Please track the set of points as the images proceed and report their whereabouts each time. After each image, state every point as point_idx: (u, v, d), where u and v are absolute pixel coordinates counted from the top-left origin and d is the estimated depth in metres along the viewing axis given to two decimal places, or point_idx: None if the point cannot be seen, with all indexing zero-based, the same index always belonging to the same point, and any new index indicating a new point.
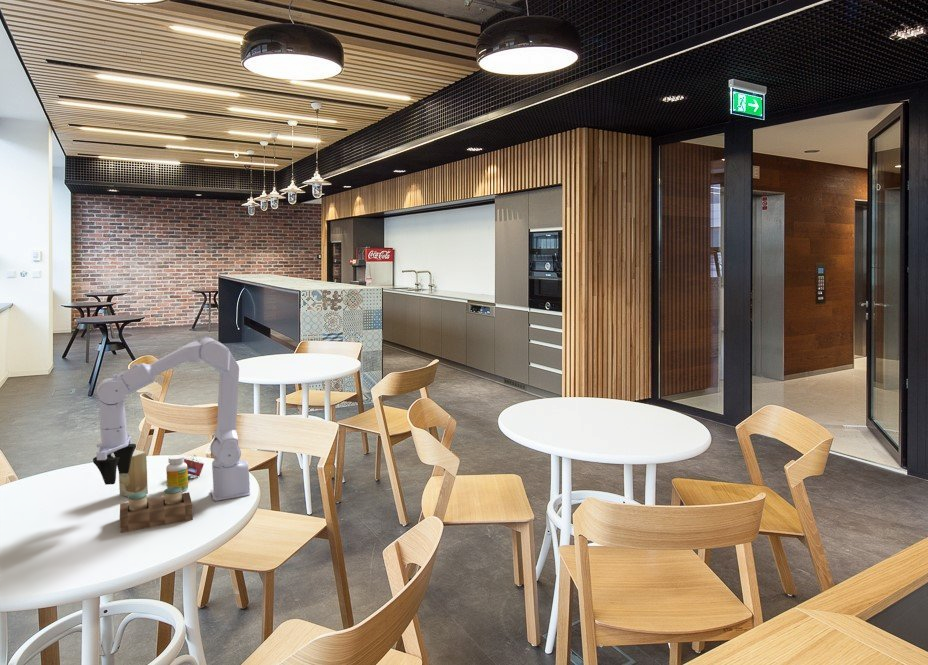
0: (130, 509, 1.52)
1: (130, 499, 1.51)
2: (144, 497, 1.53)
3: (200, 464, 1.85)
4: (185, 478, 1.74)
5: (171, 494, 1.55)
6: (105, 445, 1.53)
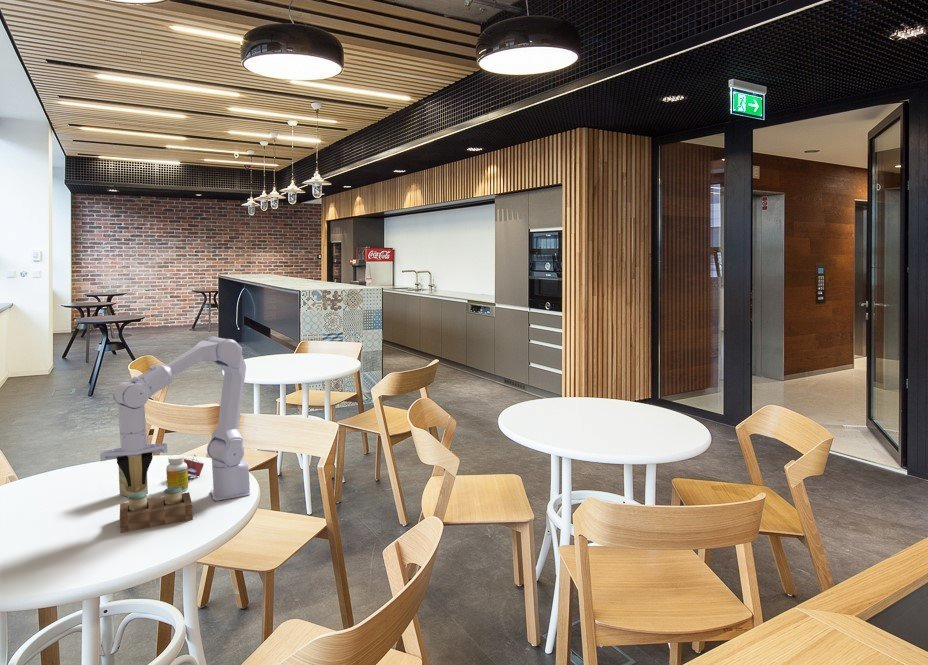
0: (130, 509, 1.52)
1: (130, 499, 1.51)
2: (144, 497, 1.53)
3: (200, 464, 1.85)
4: (185, 478, 1.74)
5: (171, 494, 1.55)
6: None
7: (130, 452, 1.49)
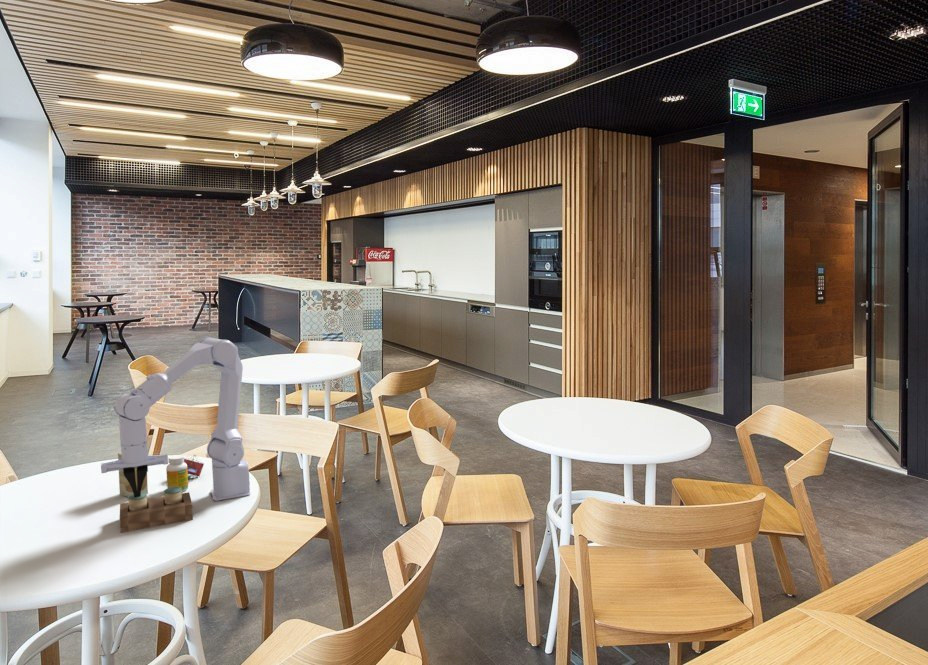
0: (130, 509, 1.52)
1: (130, 499, 1.51)
2: (144, 497, 1.53)
3: (200, 464, 1.85)
4: (185, 478, 1.74)
5: (171, 494, 1.55)
6: None
7: (131, 464, 1.49)
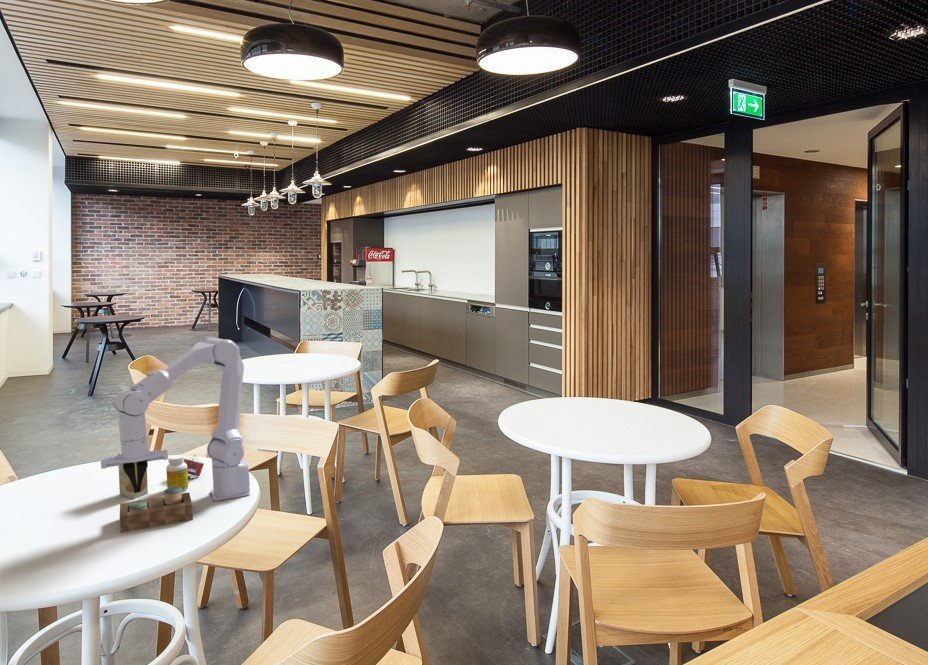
0: None
1: (131, 509, 1.52)
2: (145, 507, 1.53)
3: (200, 464, 1.85)
4: (185, 478, 1.74)
5: (171, 494, 1.55)
6: None
7: (131, 459, 1.49)
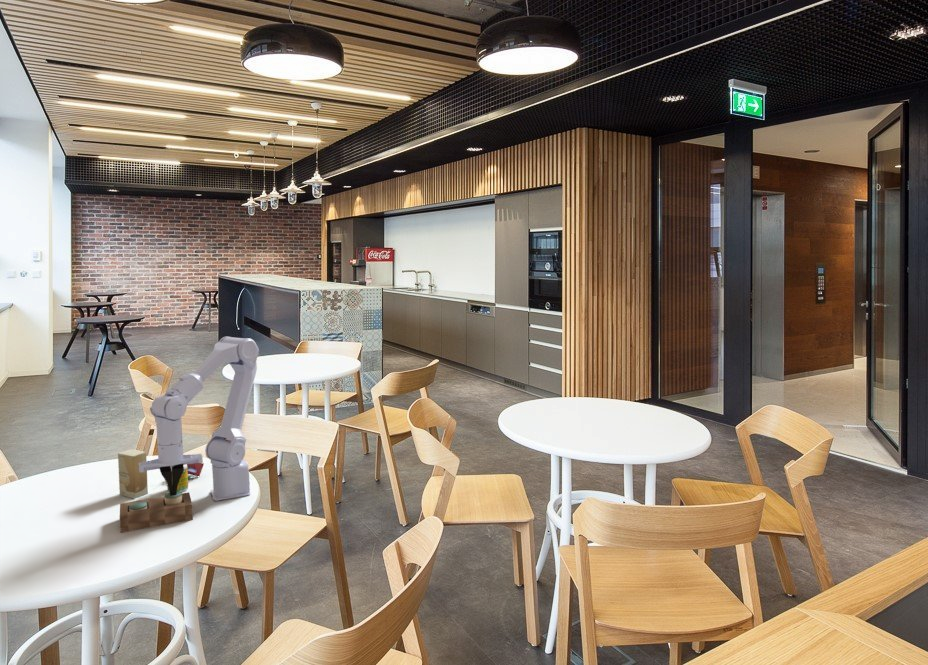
0: None
1: (131, 509, 1.52)
2: (145, 507, 1.53)
3: (200, 464, 1.85)
4: (185, 478, 1.74)
5: (171, 498, 1.55)
6: None
7: (168, 463, 1.53)
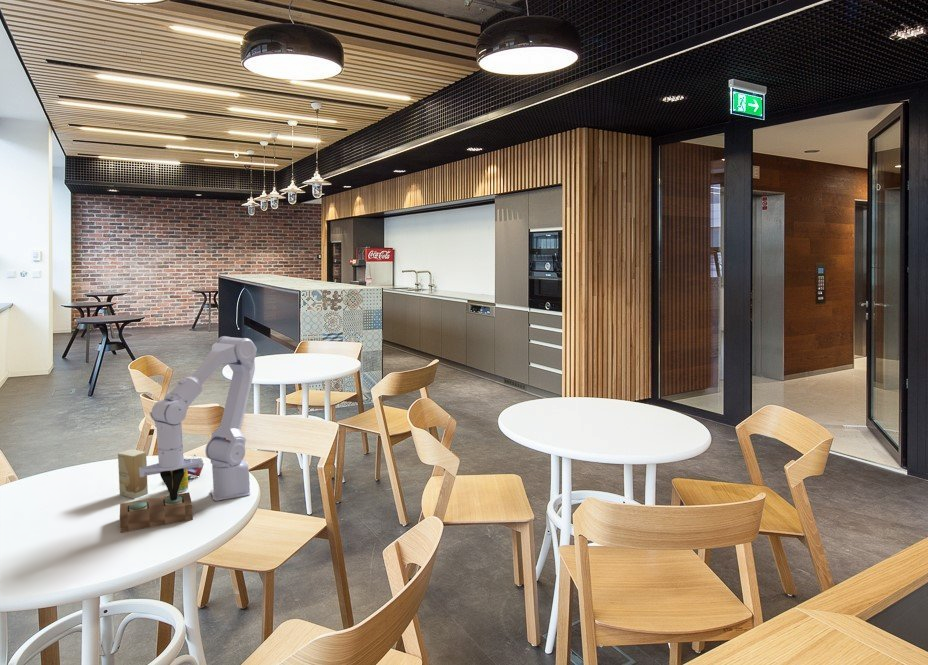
0: None
1: (131, 509, 1.52)
2: (145, 507, 1.53)
3: None
4: (185, 478, 1.74)
5: (171, 504, 1.55)
6: None
7: (169, 468, 1.53)
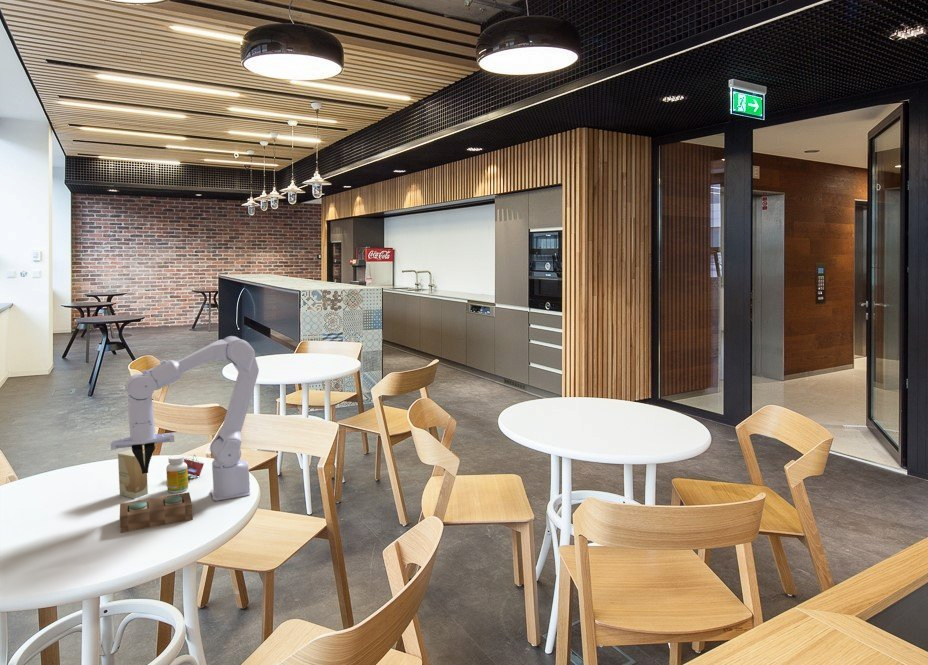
0: None
1: (131, 509, 1.52)
2: (145, 507, 1.53)
3: (200, 464, 1.85)
4: (185, 478, 1.74)
5: (171, 504, 1.55)
6: None
7: (139, 441, 1.56)
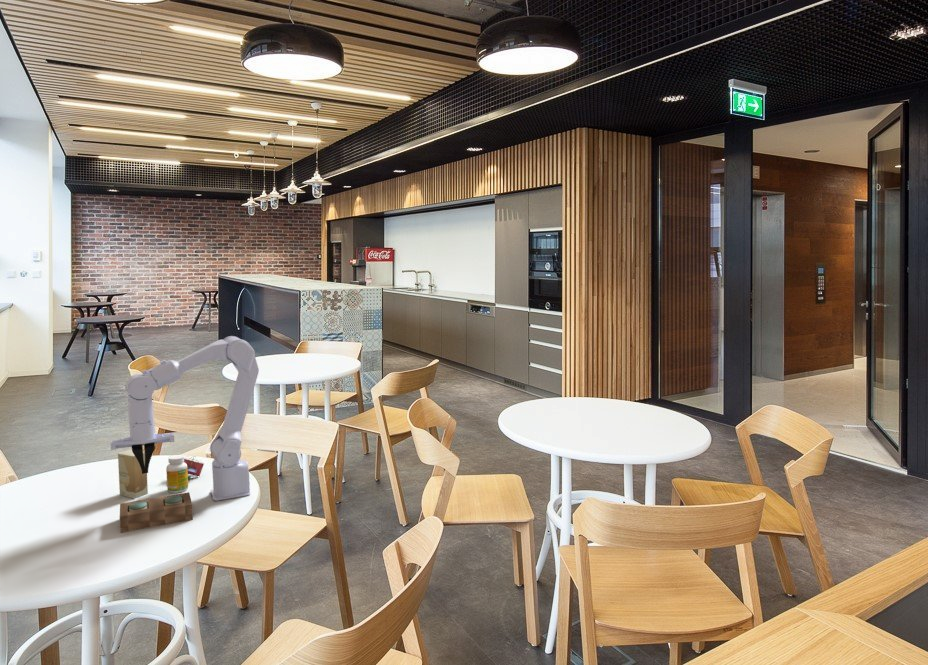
0: None
1: (131, 509, 1.52)
2: (145, 507, 1.53)
3: (200, 464, 1.85)
4: (185, 478, 1.74)
5: (171, 504, 1.55)
6: None
7: (139, 441, 1.56)
